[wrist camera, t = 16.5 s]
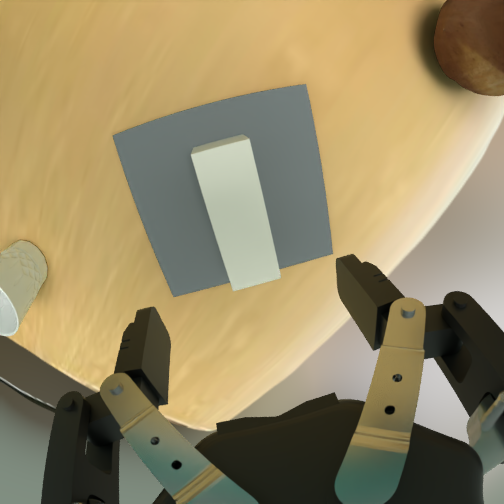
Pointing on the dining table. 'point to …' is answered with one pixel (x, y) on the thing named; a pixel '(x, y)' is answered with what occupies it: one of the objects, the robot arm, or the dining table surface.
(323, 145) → the dining table surface
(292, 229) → the mat
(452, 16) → the butternut squash
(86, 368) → the dining table surface
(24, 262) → the white cup
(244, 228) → the cream block
